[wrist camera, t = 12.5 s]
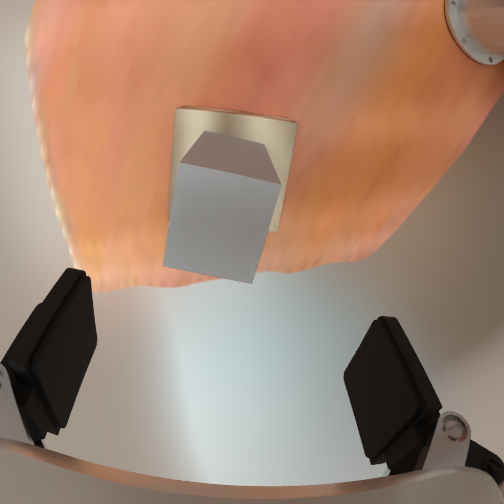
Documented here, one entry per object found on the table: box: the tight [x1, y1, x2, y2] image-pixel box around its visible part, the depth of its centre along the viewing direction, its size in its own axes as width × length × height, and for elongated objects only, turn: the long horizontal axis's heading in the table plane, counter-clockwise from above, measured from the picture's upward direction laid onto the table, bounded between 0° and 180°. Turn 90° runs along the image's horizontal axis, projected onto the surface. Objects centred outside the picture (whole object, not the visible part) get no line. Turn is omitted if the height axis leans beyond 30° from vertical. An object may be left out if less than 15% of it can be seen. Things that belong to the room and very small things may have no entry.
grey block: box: [163, 131, 282, 284], centre depth 26 cm, size 6×7×14 cm
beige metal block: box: [168, 106, 298, 232], centre depth 35 cm, size 12×12×6 cm
